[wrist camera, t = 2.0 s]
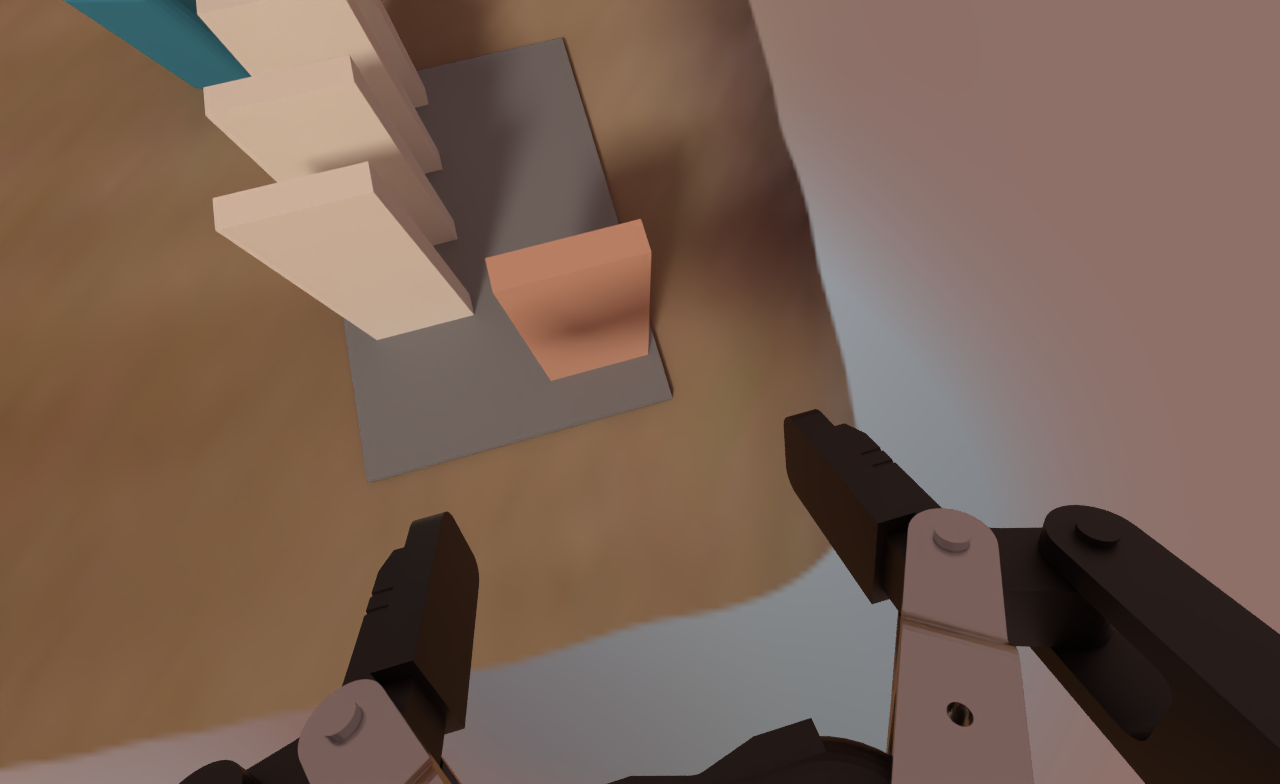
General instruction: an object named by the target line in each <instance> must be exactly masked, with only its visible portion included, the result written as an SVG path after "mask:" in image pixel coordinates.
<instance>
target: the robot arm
mask: <svg viewBox="0 0 1280 784" xmlns="http://www.w3.org/2000/svg"><path fill="white" fill-rule="evenodd" d="M784 438H785V456H786V469H787V474H788V478H789V480H790V483H791V485H792V488H793V489H794V491H795V493H796V494H797V496H798V497H799V499H800V500H801V502H802V503H803V505H804V506H805V507H806V509H807V510H808V512H809V513H810V515H811V516H812V518H813V519H814V521H815V522H816V523H817V525H818V526H819V528H820V529H821V531H822V532H823V534H824V535H825V537H826V538H827V540H828V541H829V542H830V544H831V545H832V547H833V548H834V550H835V551H836V553H837V554H838V555H839V557H840V558H841V560H842V561H843V563H844V564H845V566H846V567H847V569H848V570H849V571H850V573H851V575H852V576H853V577H854V579H855V580H856V582H857V583H858V585H859V586H860V588H861V589H862V591H863V592H864V593H865V595H866V596H867V598H868V599H869V601H870V602H871V604H874V603H878V602H881V601H884V600H887V599H890V600H891V601H892V603H893V604H894V605H895V607H896V608H897V610H898V618H897V630H896V643H895V657H894V669H893V681H892V694H891V706H890V707H891V708H890V717H889V727H888V738H887V748H886V753H884V752H883V751H881V750H879V749H877V748H874V747H871V746H869V745H866V744H864V743H861V742H857V741H853V740H849V739H845V738H838V737H831V736H819V734H818V732H817V730H816V727H815V725H814V723H813V721H812V719H811V718H810V719H807V720H804V721H800V722H797V723H794V724H791V725H788V726H785V727H782V728H779V729H776V730H773V731H769V732H766V733H763V734H760V735H757V736H754V737H752V738H751V739H749V740H748V741H747V742H745V743H744V744H742V745H741V746H739V747H738V748H737V749H735V750H734V751H732V752H731V753H730V754H728V755H726V756H725V757H724V758H722V759H721V760H719V761H718V762H716V763H715V764H714V765H712V766H711V767H709V768H708V769H706V770H705V771H704V772H702V773H700V774H697V775H692V776H630V777H627V778H624V779H620V780H618V781H614V782H611V783H608V784H1034V778H1033V770H1032V761H1031V752H1030V744H1029V734H1028V727H1027V717H1026V708H1025V699H1024V690H1023V682H1022V673H1021V665H1020V658H1019V654H1018V650H1017V648H1016V646H1029V647H1031V649H1032V650H1033V651H1034V652H1035V653H1036V655H1037V656H1038V657H1039V658H1040V659H1041V661H1042V662H1043V663H1044V664H1045V665H1046V666H1047V668H1048V669H1049V670H1050V671H1051V672H1052V673H1053V675H1054V676H1055V677H1056V678H1057V679H1058V681H1059V682H1060V683H1061V684H1062V685H1063V687H1064V688H1065V689H1066V690H1067V691H1068V693H1069V694H1070V695H1071V696H1072V697H1073V698H1074V700H1075V701H1076V702H1077V703H1078V704H1079V705H1080V707H1081V708H1082V709H1083V710H1084V711H1085V713H1086V714H1087V715H1088V716H1089V717H1090V719H1091V720H1092V721H1093V722H1094V723H1095V725H1096V726H1097V727H1098V728H1099V729H1100V730H1101V732H1102V733H1103V734H1104V735H1105V736H1106V738H1107V739H1108V740H1109V741H1110V742H1111V743H1112V745H1113V746H1114V747H1115V748H1116V749H1117V751H1118V752H1119V753H1120V754H1121V755H1122V757H1123V758H1124V759H1125V760H1126V761H1127V762H1128V764H1129V765H1130V766H1131V767H1132V768H1133V769H1134V771H1135V772H1136V773H1137V774H1138V775H1139V777H1140V778H1141V779H1142V780H1143V781H1144V782H1145V784H1280V634H1278V633H1277V632H1276V631H1275V630H1273V629H1272V628H1270V627H1269V626H1268V625H1266V624H1265V623H1264V622H1263V621H1261V620H1260V619H1259V618H1257V617H1256V616H1255V615H1253V614H1252V613H1251V612H1249V611H1248V610H1246V609H1245V608H1244V607H1243V606H1241V605H1240V604H1239V603H1237V602H1236V601H1235V600H1233V599H1232V598H1231V597H1229V596H1228V595H1227V594H1225V593H1224V592H1223V591H1221V590H1220V589H1219V588H1218V587H1216V586H1215V585H1213V584H1212V583H1211V582H1209V581H1208V580H1207V579H1206V578H1204V577H1203V576H1202V575H1200V574H1199V573H1198V572H1196V571H1195V570H1194V569H1192V568H1191V567H1190V566H1188V565H1187V564H1186V563H1184V562H1183V561H1182V560H1180V559H1179V558H1178V557H1176V556H1175V555H1174V554H1172V553H1171V552H1170V551H1168V550H1167V549H1166V548H1164V547H1163V546H1162V545H1161V544H1159V543H1158V542H1156V541H1155V540H1154V539H1152V538H1151V537H1150V536H1149V535H1147V534H1146V533H1144V532H1143V531H1142V530H1141V529H1139V528H1138V527H1137V526H1135V525H1134V524H1132V523H1131V522H1129V521H1128V520H1126V519H1124V518H1122V517H1121V516H1118V515H1116V514H1114V513H1111V512H1109V511H1106V510H1103V509H1099V508H1095V507H1090V506H1082V505H1068V506H1062V507H1059V508H1056V509H1054V510H1052V511H1051V512H1050V513H1049V514H1048V515H1047V516H1046V518H1045V521H1044V524H1043V527H1042V528H988V527H987V526H986V525H985V524H984V523H983V522H981V521H980V520H978V519H977V518H975V517H973V516H971V515H969V514H967V513H963V512H961V511H957V510H952V509H944V508H941V507H940V506H939V505H938V504H937V503H936V502H935V501H934V500H933V499H932V498H931V497H930V496H929V495H928V494H927V493H926V492H925V491H924V490H923V489H922V488H921V487H920V486H919V485H918V484H917V483H916V482H915V481H914V480H913V479H912V478H911V477H910V476H909V475H907V474H906V473H905V472H904V471H903V470H902V469H901V468H900V467H899V466H898V465H897V464H896V463H893V461H892V459H891V458H890V457H889V456H888V455H887V454H886V453H885V452H884V451H881V449H880V447H879V446H878V445H877V444H876V443H875V442H874V441H873V440H872V439H871V438H870V437H869V436H868V435H867V434H866V433H864V432H862V431H859V430H857V429H855V428H853V427H851V426H849V425H847V424H841V425H837V426H834V425H833V424H832V423H831V422H830V421H829V420H828V419H827V418H826V417H825V416H824V415H823V414H822V413H821V412H820V411H819V410H817V409H814V410H811V411H807V412H803V413H800V414H796V415H793V416H789V417H786V418H785V420H784ZM478 589H479V572H478V566H477V563H476V559H475V557H474V555H473V553H472V551H471V549H470V547H469V546H468V544H467V542H466V540H465V538H464V536H463V534H462V533H461V531H460V529H459V527H458V525H457V523H456V522H455V520H454V518H453V516H452V515H451V514H450V513H449V512H444V513H440V514H437V515H433V516H429V517H426V518H422V519H419V520H415V521H413V522H412V524H411V526H410V529H409V533H408V536H407V540H406V544H405V547H404V548H400V549H397V550H394V551H393V552H392V553H391V555H390V556H389V558H388V559H387V560H386V562H385V563H384V565H383V566H382V567H381V569H380V570H379V572H378V575H377V578H376V581H375V584H374V587H373V591H372V597H370V600H369V603H368V606H367V610H366V612H367V615H365V616H364V619H363V622H362V625H361V629H360V632H359V635H358V638H357V641H356V644H355V648H354V651H353V654H352V657H351V660H350V663H349V666H348V670H347V673H346V676H345V679H344V682H343V685H342V687H341V688H339V689H337V690H336V691H334V692H333V693H332V694H331V695H329V696H328V697H327V698H326V699H325V700H324V701H323V702H322V703H321V704H320V705H319V706H318V707H317V708H316V709H315V711H314V712H313V713H312V715H311V716H310V717H309V719H308V721H307V722H306V724H305V726H304V728H303V730H302V732H301V736H300V737H299V738H298V739H296V740H295V741H293V742H292V743H290V744H288V745H287V746H285V747H284V748H282V749H280V750H279V751H277V752H275V753H274V754H272V755H270V756H269V757H267V758H265V759H264V760H262V761H260V762H259V763H257V764H255V765H254V766H252V767H250V768H249V769H247V770H245V769H244V768H242V767H241V766H240V765H238V764H237V763H235V762H233V761H230V760H220V761H216V762H213V763H211V764H208V765H206V766H204V767H202V768H200V769H199V770H197V771H195V772H194V773H192V774H191V775H189V776H188V777H187V778H185V779H184V780H183V781H182V782H180V783H179V784H461V782H460V781H459V779H458V778H457V776H456V775H455V774H454V772H453V771H452V769H451V768H450V767H449V765H448V764H447V762H446V761H445V759H444V758H443V757H442V756H441V755H442V748H443V739H444V735H445V734H448V733H451V732H454V731H458V730H461V729H464V728H465V718H466V709H467V699H468V689H469V679H470V669H471V659H472V649H473V639H474V629H475V619H476V609H477V599H478Z"/></svg>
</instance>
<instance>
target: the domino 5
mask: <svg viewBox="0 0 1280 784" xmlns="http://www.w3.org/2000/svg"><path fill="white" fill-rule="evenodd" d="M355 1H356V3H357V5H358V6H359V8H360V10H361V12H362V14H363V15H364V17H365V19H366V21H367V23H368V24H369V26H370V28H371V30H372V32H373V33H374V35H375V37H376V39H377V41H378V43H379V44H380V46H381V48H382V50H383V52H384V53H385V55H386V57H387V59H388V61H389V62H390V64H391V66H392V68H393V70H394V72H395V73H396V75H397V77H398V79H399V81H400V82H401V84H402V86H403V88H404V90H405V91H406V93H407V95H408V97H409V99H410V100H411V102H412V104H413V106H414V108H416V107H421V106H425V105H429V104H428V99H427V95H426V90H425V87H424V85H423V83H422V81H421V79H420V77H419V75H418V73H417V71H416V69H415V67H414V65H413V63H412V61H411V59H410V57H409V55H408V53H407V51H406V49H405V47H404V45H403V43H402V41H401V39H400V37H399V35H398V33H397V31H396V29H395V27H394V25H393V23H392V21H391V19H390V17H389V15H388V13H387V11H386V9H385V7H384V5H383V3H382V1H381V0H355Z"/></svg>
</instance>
